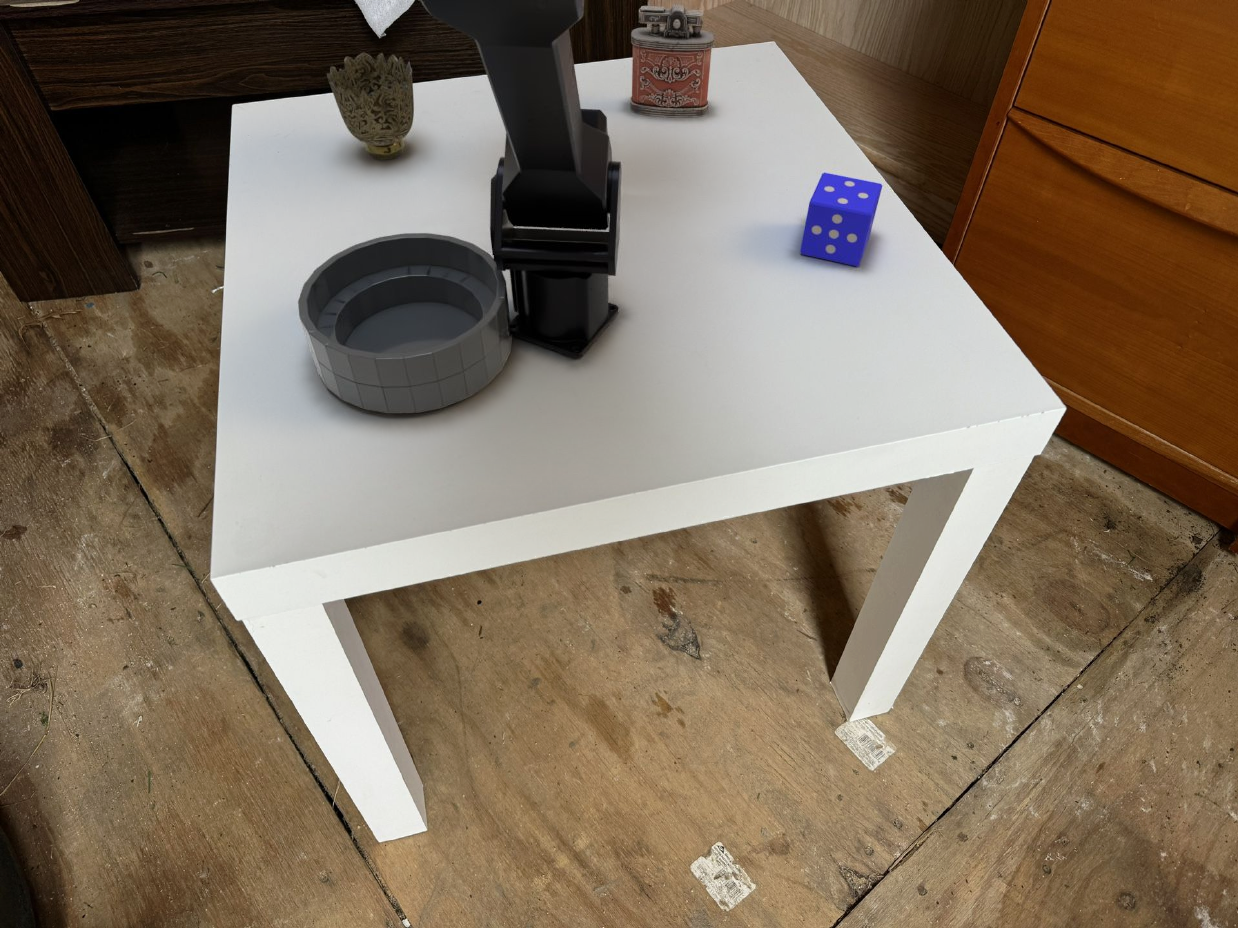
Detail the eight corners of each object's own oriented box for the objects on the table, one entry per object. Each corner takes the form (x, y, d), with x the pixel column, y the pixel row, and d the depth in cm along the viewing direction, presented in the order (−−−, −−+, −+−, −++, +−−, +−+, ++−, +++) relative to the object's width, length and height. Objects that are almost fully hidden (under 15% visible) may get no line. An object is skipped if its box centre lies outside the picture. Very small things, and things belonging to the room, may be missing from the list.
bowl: (547, 326, 68) (543, 266, 63) (437, 445, 59) (424, 385, 55) (398, 273, 72) (385, 214, 68) (276, 377, 64) (253, 317, 59)
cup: (390, 181, 81) (373, 96, 75) (330, 160, 84) (309, 76, 78) (440, 145, 86) (428, 63, 80) (382, 126, 88) (365, 45, 82)
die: (858, 268, 73) (871, 214, 69) (799, 254, 74) (809, 202, 70) (869, 235, 76) (883, 183, 72) (812, 223, 77) (822, 171, 73)
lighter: (708, 103, 92) (717, 2, 84) (707, 119, 90) (716, 16, 82) (631, 99, 92) (633, -2, 85) (628, 115, 90) (630, 12, 83)
